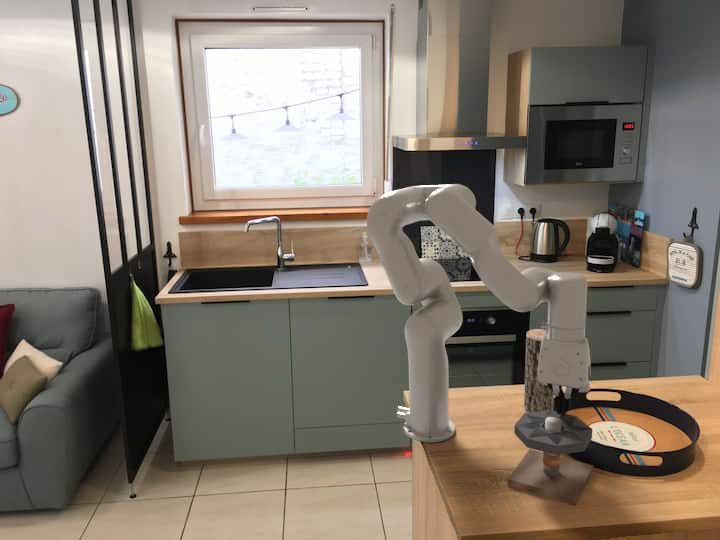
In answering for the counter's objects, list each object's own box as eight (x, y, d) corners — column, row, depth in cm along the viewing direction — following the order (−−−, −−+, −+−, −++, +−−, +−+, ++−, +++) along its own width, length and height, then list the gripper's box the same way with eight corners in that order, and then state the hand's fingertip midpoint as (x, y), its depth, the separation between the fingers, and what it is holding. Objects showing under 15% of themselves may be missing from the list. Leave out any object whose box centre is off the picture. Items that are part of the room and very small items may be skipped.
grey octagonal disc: (507, 442, 132) (507, 433, 131) (530, 414, 143) (530, 405, 143) (578, 460, 124) (579, 451, 123) (596, 429, 136) (597, 420, 135)
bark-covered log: (547, 423, 160) (550, 328, 154) (556, 436, 153) (560, 338, 147) (520, 424, 159) (522, 329, 153) (528, 438, 153) (531, 339, 147)
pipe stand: (507, 485, 134) (508, 426, 131) (529, 454, 145) (531, 400, 142) (575, 505, 127) (578, 443, 123) (593, 471, 138) (596, 414, 135)
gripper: (525, 331, 135) (523, 411, 139) (598, 343, 127) (594, 427, 131) (536, 321, 141) (534, 398, 145) (607, 332, 133) (602, 412, 137)
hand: (562, 412), depth 138 cm, fingers closed
